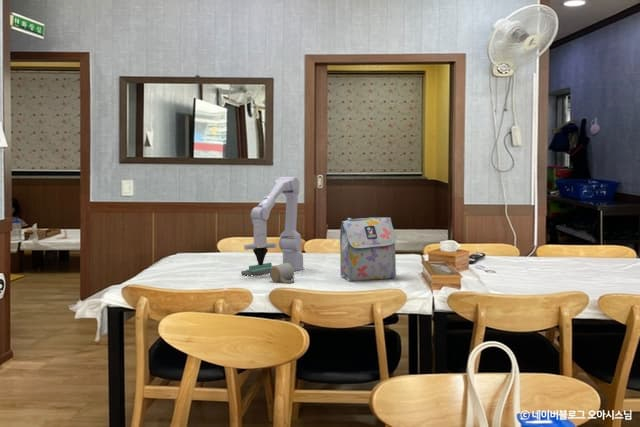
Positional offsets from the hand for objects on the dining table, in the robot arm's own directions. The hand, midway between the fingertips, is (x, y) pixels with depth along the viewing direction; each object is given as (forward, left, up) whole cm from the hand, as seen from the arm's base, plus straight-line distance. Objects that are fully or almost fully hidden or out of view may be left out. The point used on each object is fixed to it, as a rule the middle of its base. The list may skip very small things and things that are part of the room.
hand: (260, 265), depth 312 cm
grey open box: (-7, -9, -6) cm, 12 cm away
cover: (-7, -8, -4) cm, 11 cm away
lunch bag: (-31, +35, -6) cm, 48 cm away
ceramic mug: (0, +16, -6) cm, 17 cm away
